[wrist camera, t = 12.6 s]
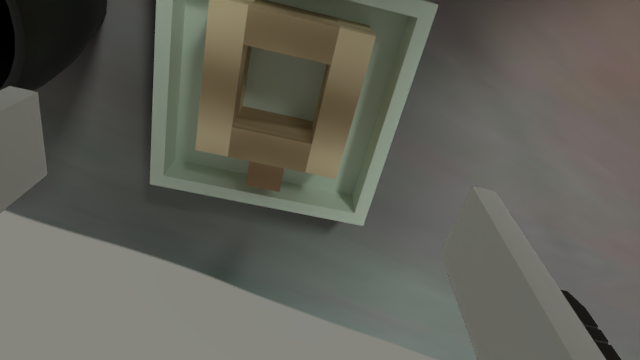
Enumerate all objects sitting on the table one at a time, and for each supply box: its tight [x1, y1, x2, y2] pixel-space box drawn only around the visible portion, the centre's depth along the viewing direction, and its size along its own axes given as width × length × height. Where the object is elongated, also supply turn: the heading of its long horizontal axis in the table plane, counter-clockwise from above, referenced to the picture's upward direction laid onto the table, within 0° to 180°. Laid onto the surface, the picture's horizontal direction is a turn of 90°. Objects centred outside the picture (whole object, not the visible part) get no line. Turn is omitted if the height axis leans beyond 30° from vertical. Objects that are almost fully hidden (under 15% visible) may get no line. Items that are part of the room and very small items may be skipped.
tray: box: [150, 0, 439, 226], centre depth 24 cm, size 14×14×3 cm
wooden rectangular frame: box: [195, 0, 376, 192], centre depth 23 cm, size 10×8×4 cm
